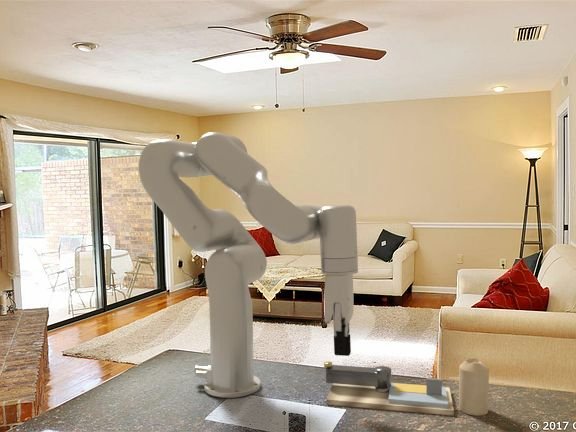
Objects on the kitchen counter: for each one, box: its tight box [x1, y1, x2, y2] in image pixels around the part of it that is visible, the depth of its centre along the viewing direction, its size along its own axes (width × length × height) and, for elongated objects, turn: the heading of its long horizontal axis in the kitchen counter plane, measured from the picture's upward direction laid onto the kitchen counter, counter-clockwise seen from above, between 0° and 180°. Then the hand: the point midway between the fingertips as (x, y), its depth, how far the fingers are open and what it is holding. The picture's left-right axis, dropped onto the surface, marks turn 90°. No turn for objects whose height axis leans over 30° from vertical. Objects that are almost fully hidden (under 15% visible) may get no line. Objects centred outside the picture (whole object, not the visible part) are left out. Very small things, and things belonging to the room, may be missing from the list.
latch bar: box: [323, 361, 392, 388], centre depth 111 cm, size 14×4×4 cm, turn 76°
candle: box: [458, 357, 490, 417], centre depth 102 cm, size 6×6×10 cm
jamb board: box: [325, 383, 455, 416], centre depth 108 cm, size 25×12×1 cm, turn 76°
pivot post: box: [375, 387, 390, 393], centre depth 110 cm, size 3×3×2 cm
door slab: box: [389, 377, 448, 408], centre depth 106 cm, size 12×9×4 cm
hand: (342, 354), depth 105 cm, fingers closed
